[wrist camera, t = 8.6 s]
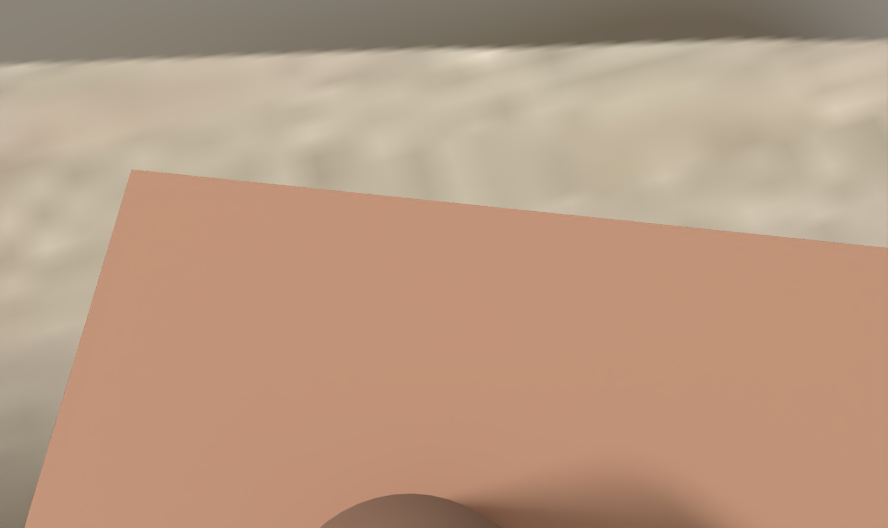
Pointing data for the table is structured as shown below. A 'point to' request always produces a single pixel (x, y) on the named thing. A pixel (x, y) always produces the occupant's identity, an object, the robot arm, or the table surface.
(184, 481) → the tan rectangular block
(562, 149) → the table surface
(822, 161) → the table surface
